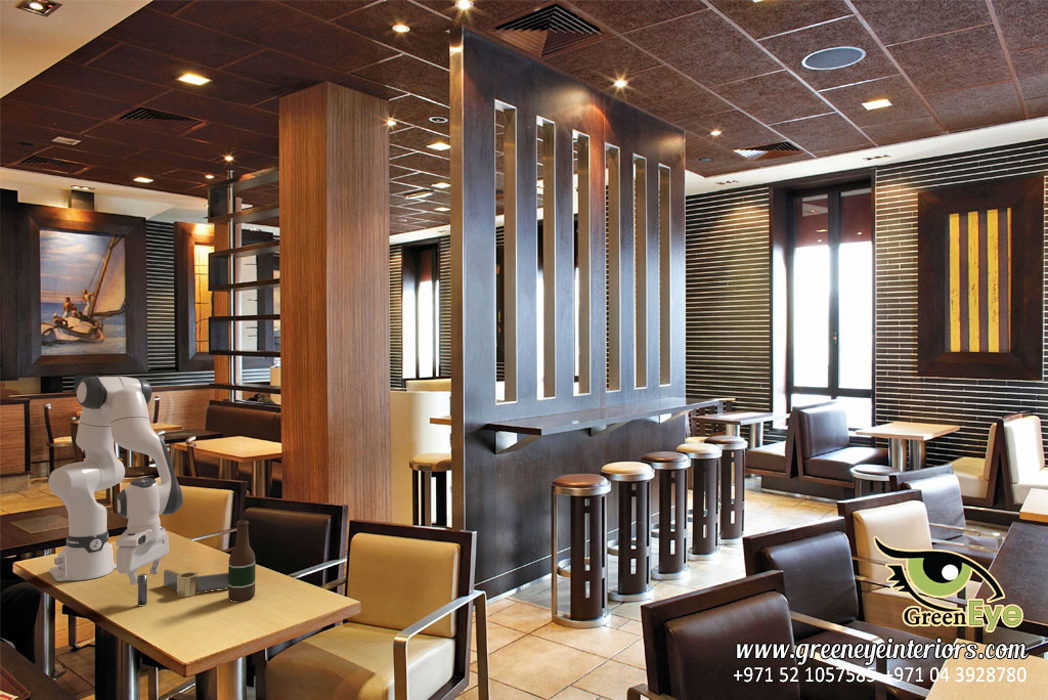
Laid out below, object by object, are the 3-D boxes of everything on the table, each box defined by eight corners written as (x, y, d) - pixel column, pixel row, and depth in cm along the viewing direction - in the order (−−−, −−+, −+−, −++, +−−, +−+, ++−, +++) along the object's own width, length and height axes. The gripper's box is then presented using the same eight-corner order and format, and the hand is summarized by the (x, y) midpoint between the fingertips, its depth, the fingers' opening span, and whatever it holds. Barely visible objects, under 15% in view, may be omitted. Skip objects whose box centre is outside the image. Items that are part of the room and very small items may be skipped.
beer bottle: (260, 595, 217) (261, 519, 217) (243, 603, 210) (243, 525, 209) (240, 592, 219) (241, 517, 219) (222, 600, 212) (223, 523, 212)
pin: (136, 605, 208) (136, 575, 208) (144, 602, 210) (144, 573, 210) (140, 607, 207) (140, 577, 207) (148, 604, 209) (148, 575, 209)
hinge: (156, 587, 223) (156, 569, 223) (201, 575, 235) (201, 557, 235) (190, 601, 211) (191, 582, 211) (236, 587, 223) (236, 569, 223)
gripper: (155, 524, 219) (155, 567, 219) (111, 542, 199) (112, 590, 199) (174, 524, 218) (174, 568, 218) (132, 542, 198) (132, 590, 198)
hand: (144, 578), depth 208 cm, fingers open, 8 cm apart
